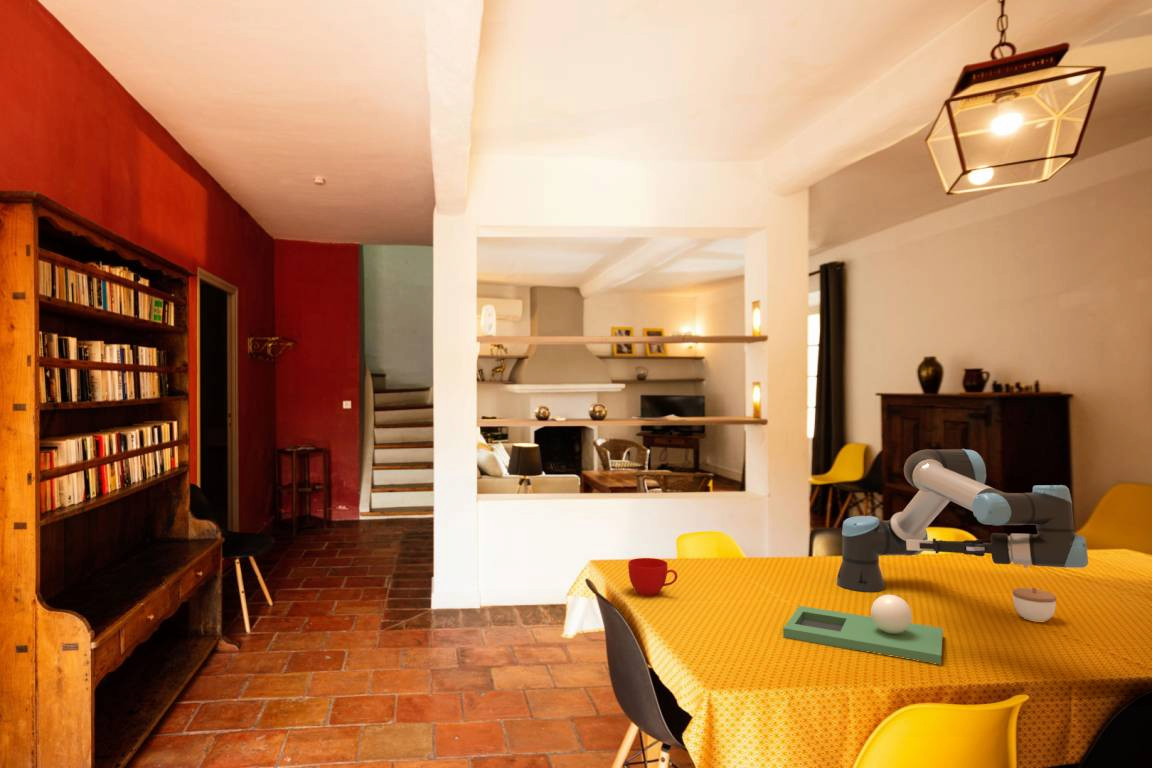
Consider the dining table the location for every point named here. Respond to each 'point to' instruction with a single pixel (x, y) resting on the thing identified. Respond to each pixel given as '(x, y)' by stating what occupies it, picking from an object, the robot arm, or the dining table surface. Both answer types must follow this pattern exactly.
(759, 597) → the dining table surface
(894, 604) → the ball
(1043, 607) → the lidded jar
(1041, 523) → the robot arm
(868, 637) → the putting board
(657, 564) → the ceramic cup
